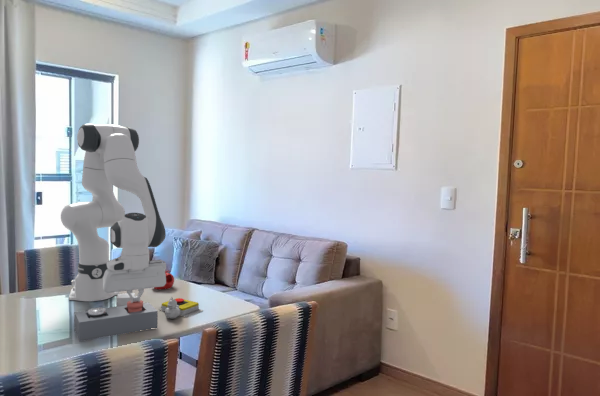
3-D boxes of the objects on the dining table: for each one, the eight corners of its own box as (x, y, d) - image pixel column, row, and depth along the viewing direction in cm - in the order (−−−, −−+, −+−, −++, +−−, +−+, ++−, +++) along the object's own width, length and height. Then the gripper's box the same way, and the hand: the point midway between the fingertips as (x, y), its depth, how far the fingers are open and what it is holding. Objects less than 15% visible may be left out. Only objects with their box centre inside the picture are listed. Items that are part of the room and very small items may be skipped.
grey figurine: (161, 319, 168) (161, 297, 167) (171, 313, 174) (171, 292, 173) (174, 321, 166) (174, 299, 166) (184, 315, 173) (184, 294, 172)
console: (74, 330, 155) (74, 312, 155) (148, 318, 168) (148, 302, 167) (79, 341, 146) (79, 322, 145) (157, 328, 159) (157, 311, 158)
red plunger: (125, 315, 161) (125, 301, 160) (141, 313, 163) (141, 299, 163) (128, 320, 156) (128, 305, 156) (144, 317, 159) (145, 303, 159)
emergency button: (175, 294, 186) (204, 300, 179) (175, 304, 186) (204, 311, 179) (157, 299, 178) (187, 306, 170) (157, 311, 178) (187, 318, 171)
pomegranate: (151, 286, 212) (151, 265, 211) (174, 285, 214) (174, 264, 213) (149, 291, 202) (149, 270, 201) (174, 290, 204) (174, 269, 204)
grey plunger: (87, 323, 154) (87, 308, 154) (104, 321, 157) (104, 306, 157) (89, 328, 150) (89, 313, 149) (107, 326, 153) (107, 311, 152)
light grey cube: (133, 313, 174) (133, 297, 173) (116, 314, 172) (116, 298, 172) (134, 308, 179) (134, 292, 179) (117, 309, 178) (117, 293, 177)
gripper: (163, 257, 167) (163, 295, 168) (101, 262, 156) (101, 303, 157) (168, 260, 161) (168, 300, 162) (105, 266, 150) (105, 308, 151)
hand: (135, 302), depth 159 cm, fingers closed, pressing on red plunger
